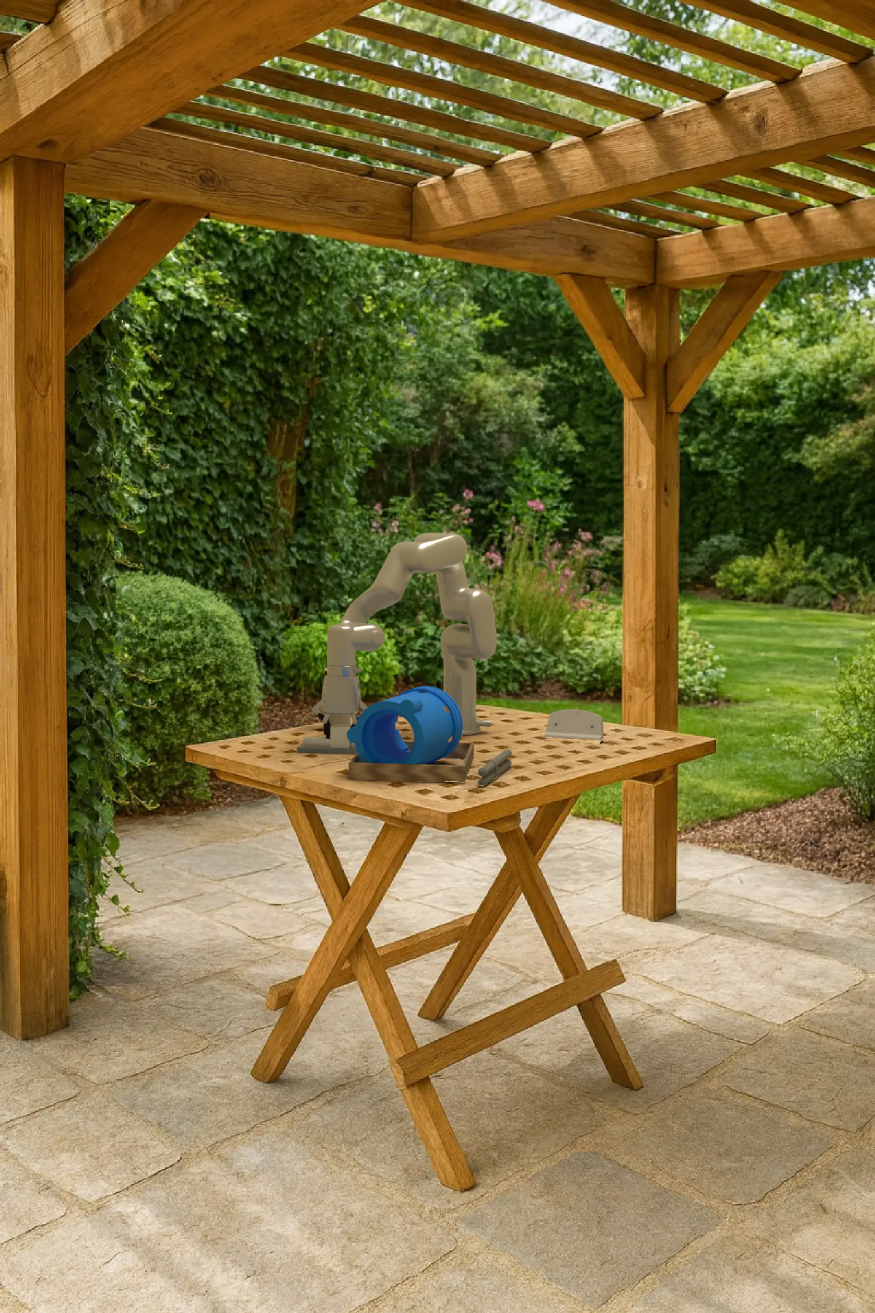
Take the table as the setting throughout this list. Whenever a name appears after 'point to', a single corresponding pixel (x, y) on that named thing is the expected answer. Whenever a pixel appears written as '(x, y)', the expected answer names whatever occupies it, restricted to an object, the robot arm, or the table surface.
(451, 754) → the brown wooden tray
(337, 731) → the block
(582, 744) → the table surface
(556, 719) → the grey mounting bracket
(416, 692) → the tube
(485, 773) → the metal rod assembly
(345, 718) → the travel mug
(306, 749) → the rail board
